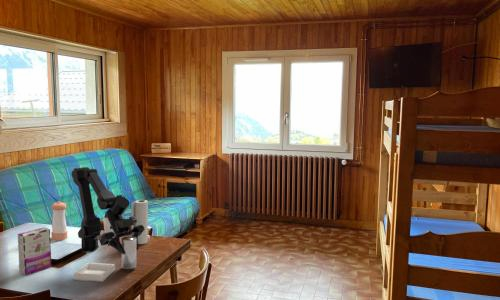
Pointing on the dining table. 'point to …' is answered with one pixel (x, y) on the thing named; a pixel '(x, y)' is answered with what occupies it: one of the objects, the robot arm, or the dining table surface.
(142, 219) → the paper towel roll
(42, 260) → the candy bar box
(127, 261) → the gravel can
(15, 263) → the dining table surface
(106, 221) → the white cup
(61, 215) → the pepper shaker
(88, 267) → the bin
